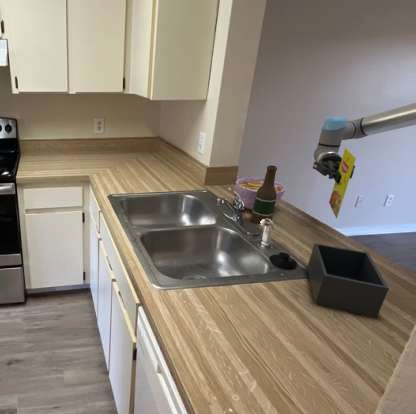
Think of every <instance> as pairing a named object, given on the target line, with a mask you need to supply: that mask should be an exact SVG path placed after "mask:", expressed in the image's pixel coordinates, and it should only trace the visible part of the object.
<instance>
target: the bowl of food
mask: <svg viewBox="0 0 416 414" xmlns="http://www.w3.org/2000/svg"><path fill="white" fill-rule="evenodd" d="M264 179H265V178H261V177H244V178H239V179H237V180H236V182H235V188H236V194H237V193H238V194H239V196H240V197H241V199H242V201H243V203H244V205H245V207H244V209H247V210H250V211H253V206H254V201H255V196H256V193H257V190H258V189H259V187H261V186H262V185H263V182H264ZM274 188H275V190H276V194H277V197H276V203H275V207H274V209H275V208H276V207H277V206H278V204H279V203H280V201H281V200H282V197H283V196H284V193H285V192H286V190H287V189H286V186H285V185H284V184H282V183H280V182H279V181H276V180H275V181H274Z"/></svg>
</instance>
